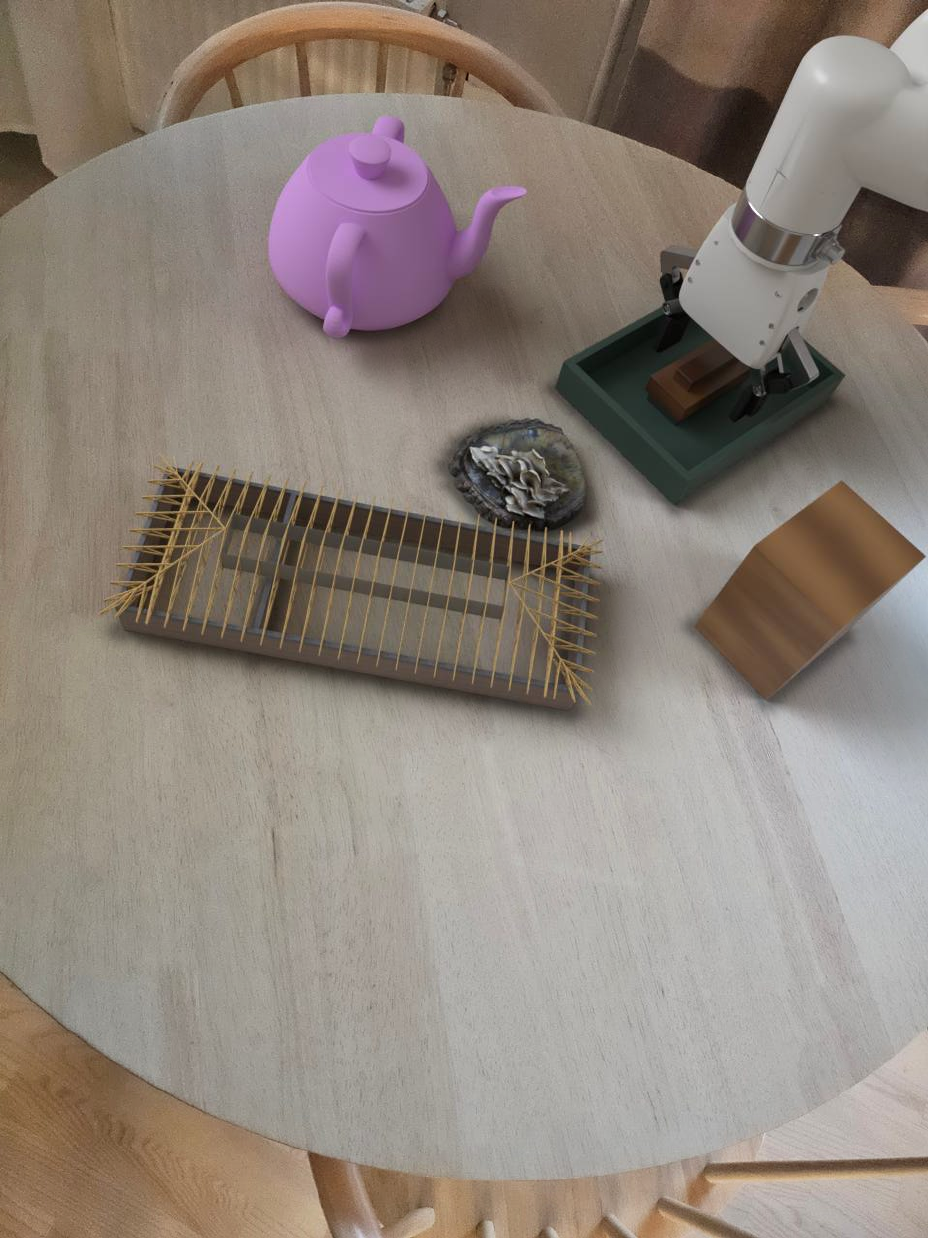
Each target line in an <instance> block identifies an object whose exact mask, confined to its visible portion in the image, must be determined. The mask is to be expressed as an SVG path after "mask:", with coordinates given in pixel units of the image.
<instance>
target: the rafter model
mask: <svg viewBox="0 0 928 1238" xmlns="http://www.w3.org/2000/svg"><path fill="white" fill-rule="evenodd" d="M157 454H158V456H159V458H160V459H161V461H162V462H163V463H164V465H165V466H166V468H164V467H162V466H160V465H157V464H153V467H154V468H155V469H157V470H159V472H162V473H163V476H162V478H161V479H148V480H147V482H148V483H149V484H154V485H159V487H158V489H157V492H156V494H155V495H142V496H141V499H144V500H148V501H149V500H150V501H153V503H152V506H151V507H150V511H137V512H136V511H135V515H136V516H140V517H145V518H147V519H146V521H145V524H144V527H143V528H130V529H129V532H131V533H136V534H141V535H140V539H139V541H138V544H137V545H123V546H122V549H123V550H129V551H134V553H133V554H134V555H133V557H132V559H131V563H116V564H115V565H116V567H120V568H126V569H128V570H127V572H126V576H125V579H124V580H122V581H120V580H119V581H118V580H117V581H113V580H112V581H109V584H110V585H113V586H120V587H121V590H120V592H119V593H117V594H115V595H112V596H109V597H106V598H104V599H103V598H102V601H103V603H105V602H111V601H113V603H111V604H110V605H108V606H107V607H106V608H104V609H103V610H101V611H100V612H98V613H97V616H98V617H100V616H102V615H104V614H106V613H108V612H110V611H112V610H114V609H115V611H116V614H115V615H114V617H113V618H114V620H117V618H118V619H119V622H120V624H121V628H122V630H125V631H131V632H135V633H142V634H148V635H151V636H158V637H163V638H169V639H174V640H181V641H186V642H191V643H196V644H201V645H206V646H207V645H208V646H213V647H219V648H223V649H229V650H234V651H240V652H245V653H252V654H255V655H256V654H257V655H262V656H268V657H273V658H279V659H284V660H288V661H289V660H290V661H295V662H299V663H300V662H301V663H306V664H312V665H316V666H321V667H322V666H323V667H328V668H333V669H339V670H343V671H344V670H345V671H348V672H349V671H350V672H356V673H361V674H365V675H366V674H367V675H372V676H376V677H377V676H378V677H383V678H389V679H394V680H399V681H405V682H411V683H416V684H421V685H427V686H432V687H438V688H443V689H449V690H453V691H454V690H455V691H459V692H465V693H471V694H477V695H481V696H487V697H493V698H497V699H504V700H508V701H514V702H520V703H526V704H530V705H531V704H532V705H535V706H542V707H548V708H552V709H558V710H565V711H570V709H571V707H572V706H573V704H575V703H576V702H577V701H576V699H577V698H578V696H579V695H580V696H581V697H582V699H584V701H585V702H586V704H588V706H590V707H591V706H592V703H591V701H590V700H589V698H588V697H587V696H586V694H585V693H584V691H583V689H582V688H581V687H583V688H584V689H586V690H588V691H590V692H592V691H593V688H592V687H590V686H589V685H588V684H587V683H586V682H585V681H584V680H582V672H583V673H589V674H590V673H591V674H594V672H595V671H594V670H592V669H590V668H588V667H585V666H583V665H582V664H583V654H589V655H593V656H594V655H596V652H595V651H592V650H589V649H587V648H585V647H584V640H585V636H589V637H593V638H594V637H595V638H596V637H598V636H597V635H598V634H597V633H593V632H591V631H588V630H586V629H585V628H586V619H587V618H588V619H592V620H593V619H594V620H598V619H599V616H596V615H594V614H591V613H589V612H587V605H588V604H587V603H588V601H590V602H596V603H599V602H600V599H598V598H596V597H593V596H591V595H589V594H588V593H589V592H588V591H589V590H588V589H589V584H591V585H595V586H596V585H597V586H600V585H601V582H599V581H596V580H595V579H592V578H590V569H591V568H594V569H600V570H601V569H602V568H603V566H601V565H599V564H597V563H595V562H592V561H591V557H592V556H593V555H597V554H603V552H604V550H602V549H601V550H600V549H599V550H592V548H593V547H595V546H597V545H598V544H600V543H602V542H603V541H604V538H601V539H599V540H597V541H594V542H592V543H590V544H588V545H585V544H586V543H587V541H588V540H589V539H590V535H588V536H587V537H586V538H585V540H584V541H583V542H582V543H581V544H576V543H572V531H570V532H569V534H568V535H569V536H568V542H566V541H564V530H563V529H561V530H560V534H559V540H555V539H550V538H547V533H548V531H547V527H546V528H545V531H544V536H543V537H540V536H535V535H531V530H530V524H529V529H527V534H524V533H519V532H514V529H515V528H514V521H513V524H512V528H511V531H508V530H504V529H498V528H497V525H496V521H497V518H496V519H495V524H494V527H487V526H483V525H479V524H480V523H479V522H480V517H481V515H480V514H478V516H477V522H476V524H472V523H467V522H462V517H463V510H461V511H460V516H459V517H460V518H459V521H457V520H451V519H447V518H444V517H445V513H446V512H445V511H446V507H444V508H443V512H442V517H436V516H430V515H427V511H428V506H429V504H426V507H425V512H424V514H420V513H415V512H410V506H411V501H409V502H408V507H407V511H405V510H399V509H396V508H395V509H394V508H392V506H393V502H394V497H391V501H390V505H389V507H383V506H379V505H375V500H376V496H377V494H374V496H373V499H372V504H369V503H363V502H358V501H357V499H358V495H359V490H357V491H356V494H355V497H354V501H353V500H347V499H342V498H340V494H341V491H342V487H339V489H338V492H337V495H336V497H331V496H326V495H322V492H323V488H324V484H322V485H321V487H320V490H319V493H318V494H315V493H312V492H311V493H310V492H307V491H304V490H305V487H306V484H307V481H306V480H304V481H303V484H302V487H301V490H296V489H290V488H287V485H288V481H289V477H286V479H285V482H284V484H283V486H282V487H281V486H275V485H269V483H270V479H271V477H272V476H271V473H269V475H268V477H267V479H266V481H265V484H264V483H258V482H254V481H251V480H252V477H253V474H254V471H253V470H251V472H250V473H249V476H248V478H247V480H243V479H238V478H234V477H235V475H236V471H237V467H234V469H233V470H232V472H231V475H230V477H228V476H223V475H218V471H219V468H220V464H219V463H218V464H217V465H216V467H215V469H214V471H213V473H207V472H201V471H202V468H203V465H204V461H203V460H201V461H200V462H199V464H198V466H197V468H196V469H195V470H192V468H193V465H194V462H195V459H192V460H191V462H190V463H189V465H188V467H187V469H185V468H180V467H177V463H176V458H175V455H172V458H173V461H174V466H171V465H170V463H169V462H168V461H167V460H166V459H165V458H164V456H162V455H161V453H160V452H158V453H157ZM176 498H181V499H182V502H179V501H177V500H175V499H176ZM192 499H193V500H198V501H199V502H198V505H197V508H196V510H188V509H189V506H190V503H191V500H192ZM208 503H213V504H215V507H214V509H213V511H211V510H210V508H209V507H208V506H207V504H208ZM173 505H175V506H179V507H180V508H179V511H177V510H176V511H171V510H172V508H173ZM225 506H229V507H233V509H232V512H231V514H230V516H229V518H228V521H227V522H226V525H225V526H224V525H223V523H222V522H221V518H222V515H223V512H224V509H225ZM202 508H203V509H202ZM217 509H218V513H216V511H217ZM243 509H244V510H250V511H252V513H251V515H250V516H247V515H242V514H241V513H242V510H243ZM235 511H236V513H235ZM261 513H265V514H270V515H271V516H270V518H269V519H263V518H259V517H260V514H261ZM187 514H194V517H193V520H192V523H191V526H190V527H182V526H183V524H184V521H185V517H186V515H187ZM204 514H210V515H211V518H210V520H209V524H208V527H200V525H201V522H202V520H203V517H204ZM169 515H176V518H173V517H170V516H169ZM279 516H281V517H283V520H282V522H279V521H277V520H278V517H279ZM196 519H197V521H198V523H196V524H195V522H196ZM213 520H214V521H215V526H213V527H211V525H212V523H213ZM297 521H304V522H307V523H308V524H307V526H305V527H304V526H299V525H296V524H297ZM167 522H171V523H172V522H173V523H174V525H173V528H165V526H166V523H167ZM314 524H319V525H324V526H326V528H325V530H321V529H316V528H314ZM219 525H220V526H221V527H219ZM332 527H335V528H340V529H345V531H344V534H342V533H337V532H331V530H332ZM236 530H237V531H241V532H243V535H242V540H241V544H240V549H239V553H238V555H234V554H229V552H230V548H231V546H232V542H233V539H234V536H235V533H236ZM164 531H165V532H167V531H168V532H169V531H170V535H168V534H165V533H164ZM180 531H188V535H187V538H186V540H185V543H184V545H176V543H177V541H178V538H179V535H180ZM193 531H195V533H194V536H193V539H192V541H191V537H192V532H193ZM199 531H206V533H205V536H204V539H203V542H201V543H200V544H198V545H194V543H195V541H196V537H197V536H198V535H197V534H198V532H199ZM211 531H214V532H213V535H211V536H210V535H209V533H210V532H211ZM217 531H218V532H217ZM350 531H356V532H362V533H363V535H362V537H358V536H352V535H349V534H350ZM221 533H223V535H222V539H221V544H220V549H219V553H218V557H217V561H216V567H215V571H214V576H213V580H212V584H211V589H210V594H209V598H208V602H207V606H206V610H205V611H206V612H205V615H204V618H199V617H192V616H190V615H191V612H192V608H193V605H194V603H195V600H196V596H197V593H198V589H199V586H200V584H201V582H202V581H201V580H202V578H203V574H204V571H205V568H206V565H207V562H208V558H209V556H210V553H211V549H212V547H213V543H214V540H215V538H216V537H217V536H218V535H220V534H221ZM248 533H251V535H250V539H249V542H248V546H247V549H246V553H245V556H242V552H243V550H244V546H245V543H246V540H247V535H248ZM254 534H258V535H262V539H261V543H260V549H259V555H258V558H257V559H256V558H255V559H254V558H249V557H248V554H249V550H250V547H251V543H252V540H253V537H254ZM368 534H372V535H377V536H382V537H381V540H374V539H368V538H367V536H368ZM209 536H210V537H209ZM267 536H269V540H268V542H267V547H266V551H265V555H264V558H263V560H261V557H262V553H263V550H264V546H265V544H266V543H265V542H266V539H267ZM272 537H274V538H277V541H276V544H275V549H274V552H273V556H272V559H271V561H266V559H267V556H268V552H269V548H270V544H271V542H272ZM386 537H388V538H393V539H396V540H397V539H398V540H400V542H399V544H394V543H389V542H385V539H386ZM161 538H163V539H168V543H167V545H159V543H160V542H161ZM209 541H211V542H210V545H209V547H208V543H209ZM292 541H295V542H300V543H301V544H300V549H299V553H298V558H297V562H296V566H293V565H288V564H286V560H287V558H288V553H289V550H290V546H291V542H292ZM403 541H408V542H413V543H418V547H417V548H416V547H410V546H407V545H402V544H403ZM309 544H310V545H315V546H320V547H319V552H318V557H317V562H316V567H315V570H314V569H309V568H303V565H304V562H305V558H306V555H307V551H308V547H309ZM421 544H423V545H430V546H435V547H436V552H435V551H432V550H426V549H421ZM304 545H306V546H305V549H304ZM204 547H205V552H204ZM179 548H181V549H182V553H181V556H180V557H179V558H178V559H176V560H175V561H174V562H173V561H172V562H170V561H171V559H172V555H173V553H174V550H175V549H179ZM199 548H200V552H199V557H198V561H197V565H196V569H195V573H194V579H193V582H192V587H191V592H190V595H189V600H188V605H187V610H186V612H185V613H186V614H185V615H184V614H183V615H182V614H176V613H172V609H173V607H174V603H175V601H176V597H177V595H178V592H179V588H180V585H181V583H182V579H183V577H184V574H185V570H186V568H187V565H188V562H189V558H190V555H191V554H192V553H193V552H195V551H196V550H198V549H199ZM323 548H324V550H323ZM327 548H331V549H332V548H333V549H336V550H339V551H338V556H337V559H336V560H337V561H336V566H335V570H334V573H330V572H325V571H321V570H322V566H323V562H324V559H325V556H326V555H325V554H326V551H327ZM439 548H445V549H450V550H454V553H453V555H452V554H447V553H441V552H439ZM157 549H164V552H161V551H158V550H157ZM186 549H187V551H186ZM303 549H304V554H303V553H302V552H303ZM345 551H347V552H351V553H358V555H357V558H356V564H355V570H354V574H353V577H351V576H345V575H340V572H341V568H342V564H343V559H344V555H345ZM457 551H461V552H466V553H472V555H471V558H468V557H463V556H457ZM322 553H323V554H322ZM302 554H303V556H302ZM155 555H156V556H161V557H162V559H161V562H160V563H157V562H155V563H153V561H154V558H155ZM363 555H368V556H374V557H377V558H376V563H375V567H374V574H373V577H372V578H373V579H372V580H367V579H361V578H358V576H359V572H360V568H361V562H362V559H363ZM476 555H482V556H486V557H489V561H485V560H478V559H475V557H476ZM321 556H322V558H321ZM301 557H303V558H302V560H301ZM201 558H202V564H203V565H202V566H200V562H201ZM381 558H384V559H390V560H395V566H394V572H393V577H392V581H391V584H388V583H383V582H377V581H376V580H377V576H378V572H379V567H380V566H379V565H380V561H381ZM494 558H496V559H497V558H498V559H501V560H502V559H504V560H507V562H506V565H505V564H500V563H494ZM183 559H184V561H183ZM300 560H301V564H300ZM320 560H321V562H320ZM182 561H183V562H182ZM399 561H400V562H405V563H411V564H414V568H413V569H414V570H413V574H412V580H411V585H410V587H405V586H399V585H395V580H396V577H397V571H398V566H399ZM512 562H518V563H523V572H522V575H521V576H518V577H516V578H514V579H512V580H511V571H512ZM177 563H178V565H177V567H176V573H175V576H174V582H173V585H172V590H171V594H170V598H169V603H168V607H167V611H159V610H155V609H154V607H155V605H156V602H157V599H158V596H159V593H160V590H161V587H162V585H163V583H164V579H165V576H166V573H167V570H169V569H170V568H172V566H174V565H176V564H177ZM219 563H220V569H219V571H218V567H219ZM299 564H300V567H299ZM319 564H320V565H319ZM529 564H530V565H535V566H540V567H538V568H536V569H534V570H531V571H529ZM417 565H422V566H425V567H426V566H427V567H432V574H431V579H430V585H429V590H428V591H425V590H420V589H414V588H413V583H414V579H415V574H416V569H417ZM151 566H153V567H154V566H155V567H156V566H157V567H158V570H156V569H153V568H151ZM181 566H183V570H181ZM199 566H200V567H199ZM318 568H319V569H318ZM546 568H550V569H555V570H556V573H555V580H552V579H550V578H548V577H545V573H546ZM224 569H226V570H232V571H235V572H234V576H233V581H232V585H231V590H230V595H229V599H228V604H227V608H226V612H225V617H224V621H223V622H221V621H214V620H209V617H210V613H211V610H212V607H213V604H214V600H215V598H216V594H217V591H218V587H219V584H220V581H221V577H222V575H223V572H224ZM436 569H443V570H448V571H450V577H449V583H448V588H447V594H442V593H436V592H432V586H433V581H434V577H435V576H434V575H435V571H436ZM537 571H539V574H538V573H536V572H537ZM564 571H566V572H567V573H570V574H572V575H562V574H563V572H564ZM238 572H239V574H237V573H238ZM455 572H458V573H464V574H468V579H467V585H466V591H465V597H464V598H463V597H458V596H453V595H450V594H451V589H452V583H453V579H454V573H455ZM149 573H152V574H154V575H152V576H151V577H150V578H148V579H147V577H148V575H149ZM243 573H248V574H254V577H253V581H252V585H251V591H250V594H249V595H250V596H249V599H248V604H247V609H246V613H245V619H244V624H243V625H242V626H241V625H236V624H232V623H228V620H229V618H230V614H231V611H232V608H233V604H234V602H235V601H234V600H235V598H236V594H237V591H238V587H239V584H240V581H241V577H242V574H243ZM199 574H200V576H199V578H198V575H199ZM178 575H179V579H178V581H177V578H178ZM257 575H258V576H257ZM529 575H532V576H535V577H537V578H539V581H538V589H537V590H538V591H534V590H533V589H530V588H527V583H528V576H529ZM261 576H263V577H266V581H265V584H264V588H263V591H262V595H261V599H260V602H259V606H258V609H257V613H256V616H255V620H254V624H253V627H248V622H249V618H250V616H251V615H250V614H251V610H252V608H253V604H254V601H255V598H256V595H257V590H258V587H259V585H260V584H259V583H260V580H261ZM473 576H480V577H486V583H485V589H484V594H483V601H478V600H473V599H469V598H470V597H469V596H470V591H471V587H472V586H471V585H472V579H473ZM217 577H218V579H217ZM492 579H495V580H501V581H504V583H503V592H502V599H501V605H500V604H496V603H495V604H494V603H491V602H488V598H489V594H490V587H491V581H492ZM520 579H521V584H517V583H515V582H516V581H518V580H520ZM561 579H564V580H570V581H574V587H573V588H571V587H569V586H567V585H565V584H562V583H561ZM152 580H154V584H152V585H149V586H147V584H148V583H150V582H151V581H152ZM281 580H286V581H290V582H292V587H291V590H290V591H291V592H290V596H289V597H290V598H289V601H288V605H287V611H286V615H285V620H284V623H283V624H284V625H283V630H282V632H280V631H276V630H275V631H274V630H270V629H268V626H269V623H270V619H271V617H272V616H271V615H272V612H273V609H274V604H275V601H276V597H277V594H278V590H279V586H280V583H281ZM545 581H547V582H549V583H552V584H554V590H553V591H554V592H553V598H552V597H549V596H547V595H544V594H543V591H544V582H545ZM295 582H296V583H295ZM524 582H525V583H524ZM176 583H177V584H176ZM299 583H301V584H307V585H312V586H311V591H310V595H309V596H310V597H309V600H308V606H307V611H306V615H305V620H304V625H303V630H302V635H296V634H291V633H286V630H287V626H288V623H289V620H290V619H289V618H290V615H291V612H292V607H293V603H294V600H295V596H296V592H297V588H298V584H299ZM195 586H196V587H195ZM318 586H319V587H323V588H328V589H331V591H330V595H329V600H328V606H327V611H326V616H325V620H324V626H323V631H322V635H321V639H319V638H313V637H307V636H306V635H305V634H306V631H307V626H308V623H309V620H310V614H311V610H312V607H313V603H314V599H315V595H316V590H317V587H318ZM514 586H515V587H517V588H520V594H519V593H518V591H517V590H516V588H515V587H514ZM510 588H511V589H512V590H513V592H514V593H515V595H516V597H517V598H518V599H519V604H518V611H517V620H516V628H515V635H514V645H513V652H512V659H511V660H512V661H511V669H510V674H509V673H503V672H498V671H495V670H496V665H497V660H498V653H499V649H500V642H501V636H502V631H503V625H504V619H505V613H506V605H507V602H508V594H509V590H510ZM562 588H564V589H565V590H566V589H567V590H568V591H571V592H560V591H561V589H562ZM151 590H152V592H151V596H150V601H149V604H148V608H144V606H145V602H146V599H147V596H148V594H149V591H151ZM336 590H338V591H344V592H350V594H349V599H348V605H347V609H346V610H347V611H346V614H345V620H344V625H343V629H342V630H343V631H342V635H341V641H340V643H339V642H335V641H329V640H325V635H326V630H327V626H328V622H329V618H330V613H331V609H332V605H333V600H334V596H335V592H336ZM526 591H527V592H530V593H531V594H534V595H537V596H536V597H537V598H536V607H535V609H533V608H531V607H528V606H527V605H526V603H525V600H526ZM354 594H361V595H365V596H369V598H368V604H367V609H366V614H365V618H364V619H365V620H364V624H363V630H362V635H361V640H360V645H359V646H357V645H350V644H347V643H344V638H345V635H346V629H347V625H348V620H349V616H350V612H351V608H352V603H353V600H354V599H353V598H354ZM559 596H563V597H569V598H572V606H571V605H569V604H566V603H564V602H562V601H559V598H560V597H559ZM140 597H141V598H140ZM373 597H377V598H381V599H388V603H387V608H386V613H385V618H384V624H383V628H382V634H381V639H380V644H379V649H372V648H368V647H362V646H363V643H364V637H365V633H366V628H367V622H368V618H369V613H370V608H371V606H372V605H371V604H372V599H373ZM543 598H544V599H546V600H549V601H552V611H551V615H548V614H546V613H543V612H541V609H542V599H543ZM139 600H140V601H139ZM391 600H394V601H398V602H404V603H407V606H406V610H405V611H406V612H405V615H404V616H405V617H404V622H403V627H402V632H401V636H400V637H401V639H400V644H399V648H398V653H395V652H390V651H383V650H382V645H383V640H384V636H385V631H386V625H387V621H388V615H389V611H390V605H391ZM138 603H139V606H138ZM410 604H414V605H419V606H425V613H424V617H423V624H422V630H421V635H420V640H419V647H418V651H417V652H418V653H417V657H416V656H411V655H405V654H402V653H401V647H402V643H403V638H404V632H405V628H406V622H407V616H408V611H409V605H410ZM560 605H562V606H564V607H566V608H568V609H559V608H560ZM429 607H430V608H435V609H441V610H444V613H443V617H442V618H443V619H442V625H441V629H440V630H441V631H440V637H439V641H438V642H439V643H438V649H437V655H436V660H433V659H428V658H421V657H420V651H421V648H422V647H421V645H422V640H423V636H424V629H425V624H426V619H427V614H428V609H429ZM524 609H525V610H526V612H527V613H528V615H529V616H530V617H531V619H532V620H533V622H534V626H533V634H532V640H531V641H532V643H531V652H530V658H529V659H530V660H529V661H530V662H529V668H528V677H525V676H520V675H514V669H515V663H516V657H517V652H518V644H519V640H520V639H519V638H520V633H521V628H522V620H523V615H524ZM448 611H451V612H457V613H462V618H461V623H460V624H461V625H460V631H459V636H458V637H459V638H458V642H457V643H458V644H457V650H456V656H455V662H454V663H450V662H444V661H439V655H440V650H441V644H442V640H443V633H444V628H445V623H446V616H447V612H448ZM532 612H533V613H535V617H534V616H533V613H532ZM558 613H562V614H567V615H571V618H570V619H571V620H570V623H568V622H565V621H563V620H561V619H558V618H557V616H558ZM466 614H467V615H473V616H478V617H480V624H479V630H478V638H477V643H476V644H477V645H476V650H475V656H474V657H475V658H474V665H473V667H470V666H465V665H460V664H458V660H459V654H460V648H461V642H462V636H463V632H464V626H465V620H466ZM541 616H543V617H545V618H548V619H550V620H551V621H550V631H549V632H550V633H546V632H544V631H543V628H542V627H541V626H540V617H541ZM485 618H490V619H495V620H499V621H498V630H497V637H496V643H495V652H494V658H493V666H492V670H487V669H483V668H482V669H481V668H477V662H478V656H479V652H480V646H481V640H482V634H483V629H484V628H483V627H484V622H485ZM559 623H561V624H563V625H566V627H565V626H562V627H561V626H558V624H559ZM556 630H557V631H562V632H567V633H569V641H566V640H564V639H562V638H558V637H556V636H555V635H556ZM539 631H540V633H541V635H543V637H544V638H545V640H546V641H547V643H548V651H547V659H546V668H545V669H546V670H545V680H543V679H537V678H532V672H533V665H534V661H535V660H534V659H535V653H536V648H537V642H538V635H539ZM557 641H559V642H561V643H563V644H556V642H557ZM565 644H566V645H565ZM556 649H560V650H562V649H563V650H567V652H568V653H567V660H566V659H564V658H561V656H560V655H559V653H558V651H557V650H556ZM400 653H401V654H400ZM555 655H556V656H557V658H558V659H559V662H558V661H557V660H556V659H555V658H554V657H555ZM552 662H553V663H554V665H555V666H556V668H555V669H556V670H555V679H554V682H553V681H550V675H551V669H552ZM560 672H561V674H562V675H563V678H564V680H565V684H564V683H559V675H560Z"/></svg>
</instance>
